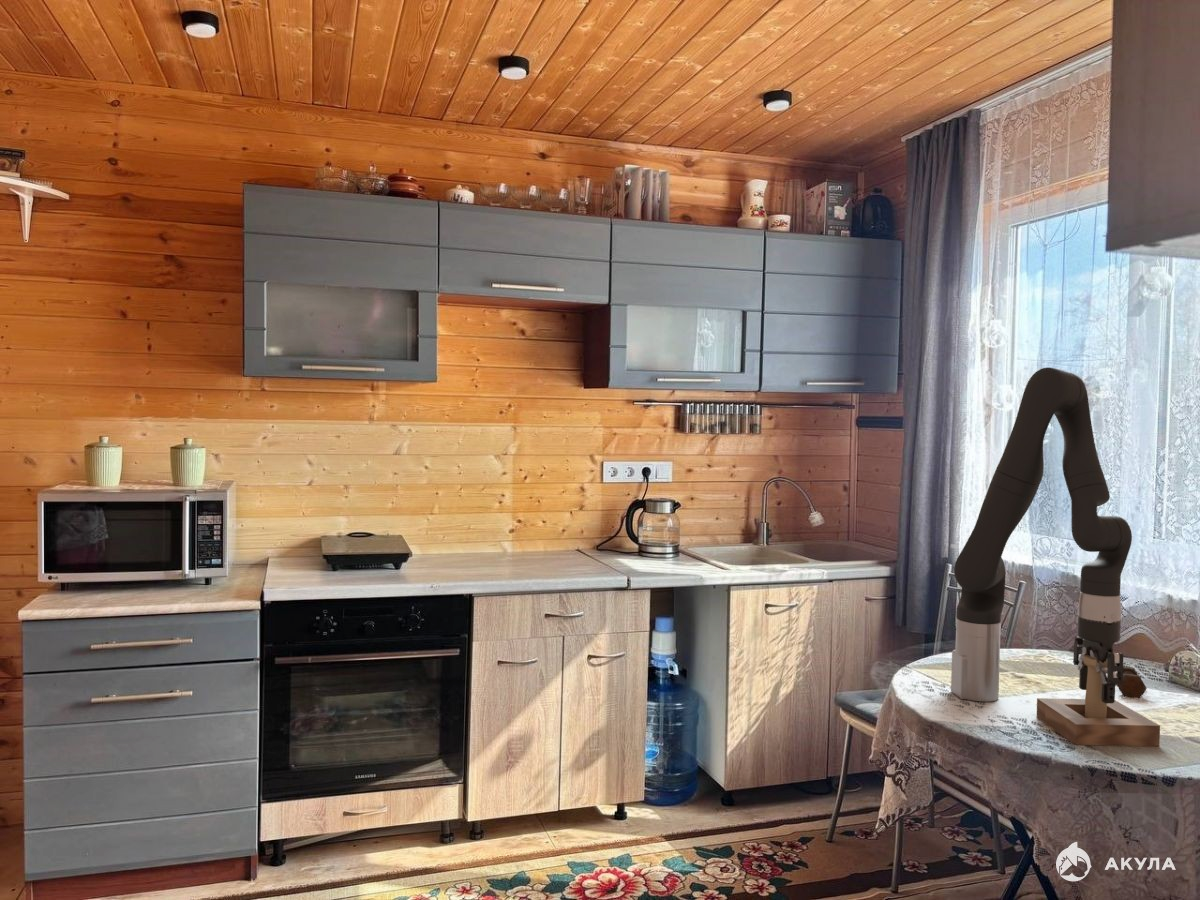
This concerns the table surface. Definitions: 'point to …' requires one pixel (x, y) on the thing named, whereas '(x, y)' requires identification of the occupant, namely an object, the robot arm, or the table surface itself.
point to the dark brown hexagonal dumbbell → (1131, 683)
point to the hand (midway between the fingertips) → (1096, 696)
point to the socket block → (1098, 724)
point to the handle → (1094, 690)
